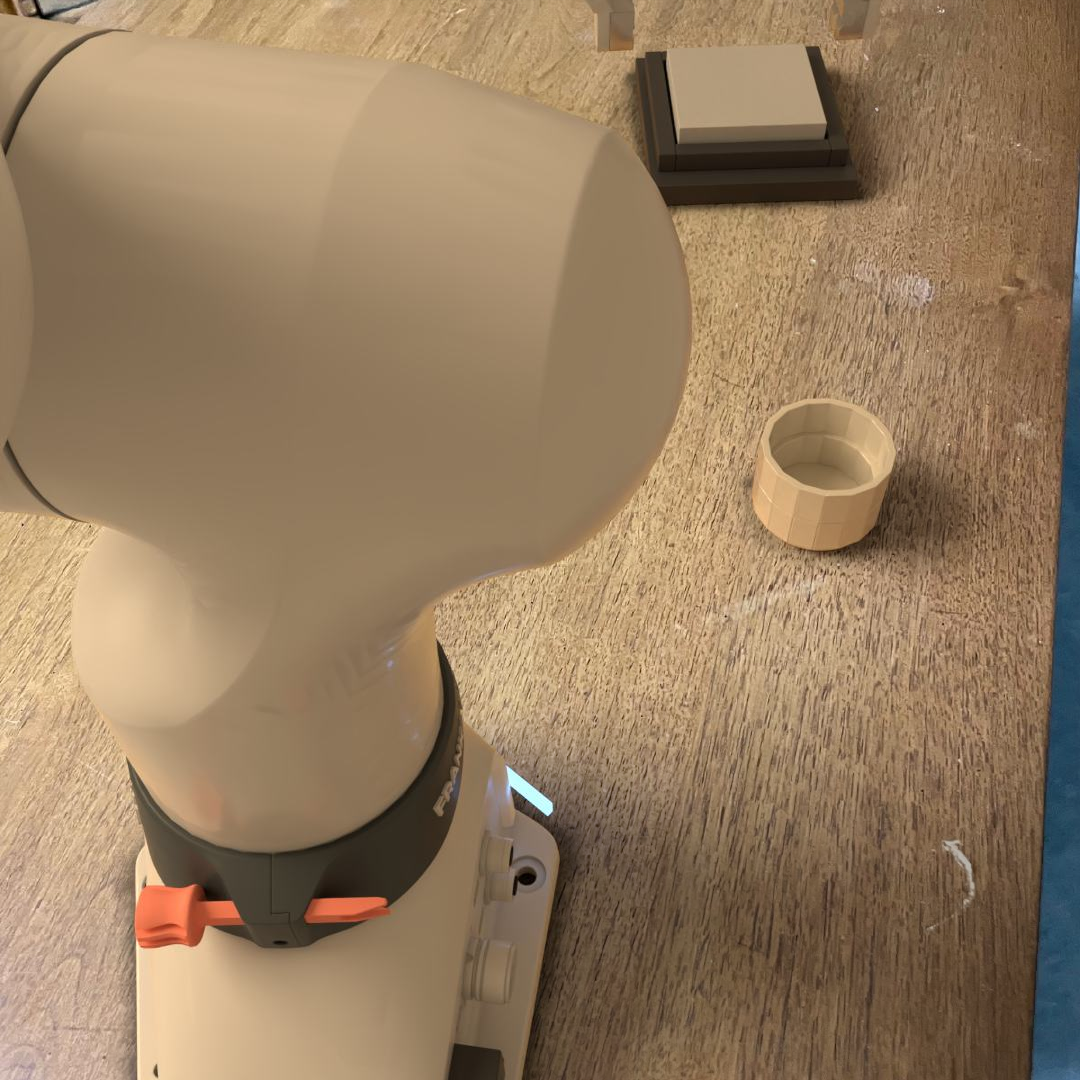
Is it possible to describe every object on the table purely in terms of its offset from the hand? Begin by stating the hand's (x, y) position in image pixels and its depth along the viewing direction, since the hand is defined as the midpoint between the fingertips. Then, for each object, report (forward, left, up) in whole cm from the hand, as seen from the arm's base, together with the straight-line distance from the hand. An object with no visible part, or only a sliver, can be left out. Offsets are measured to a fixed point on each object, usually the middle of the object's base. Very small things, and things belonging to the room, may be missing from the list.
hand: (731, 38), depth 48 cm
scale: (+32, -7, -26) cm, 41 cm away
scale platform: (+32, -7, -23) cm, 40 cm away
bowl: (-3, -7, -26) cm, 27 cm away
